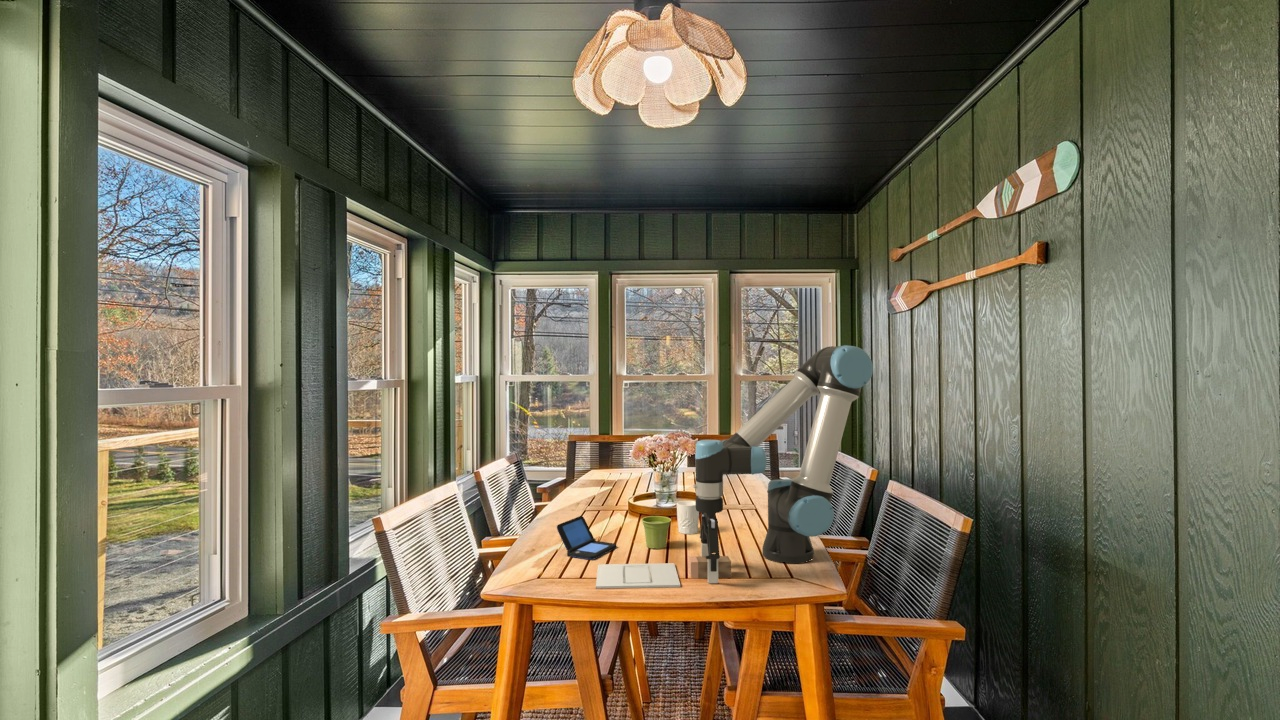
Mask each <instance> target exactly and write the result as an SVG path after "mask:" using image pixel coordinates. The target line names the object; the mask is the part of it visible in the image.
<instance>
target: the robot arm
mask: <svg viewBox="0 0 1280 720" xmlns="http://www.w3.org/2000/svg"><path fill="white" fill-rule="evenodd" d="M873 370H874V365H873V362H872V358H871V357H870V355H869V354H868V353H867V352H866V351H865V350H864V349H862V348H861V347H858V346H854V345H848V344H844V345H838V346H837V345H836V346H835V345H834V346H826V347H824V348H821V349H819V350H818V351H817V352H815V353H814V354H813V355H812V356H811V357H809V359H807V360H806V361H805V362H804V363H803V364H802V365H800V367H799V368H798V369H797V370H796V371H794V378H792V379H791V380H790V381H789V382H788V383H786V384H785V386H783V388H781V390H779V391H778V392H777V393H776V394H775V395H774V396H773V397H772V398H771V399H770V400H769V401H768V402H766V404H765V405H764V406H762V408H760V409H759V410H758V411H757V412H756V413H755V414H754V415H753V416H752V417H750V419H749V420H748V421H747V422H745V424H743V426H741V427H740V428H739V429H738V430H737V431H736V432H735V433H734V434H732V435H731V436H730V438H727V439H723V440H720V439H719V440H718V439H700V440H698V441H696V444H695V455H694V459H695V462H694V463H695V484H693V488H694V489H695V495H696V497H695V501H696V510H697V511H698V512H699V513H701V517H700V519H701V520H700V536H699V538H700V545H701V546H700V556H706V559H708V578H707V583H708V584H718V583H719V578H718V559H719V558H720V556H721V555H720V544H719V542H720V541H719V530H718V529H719V528H718V527H719V526H718V524H719V521H718V518H717V517H716V514H717V513H721V512H723V510H724V498H723V496H724V475H757V474H763V473H764V472H765V471H766V469H767V454H766V451H765V449H764V448H763V447H761V446H760V445H762V444H763V443H764V442H765V441H766V440H767V439H768V437H771V435H772V434H773V433H774V432H775V431H776V430H778V429H779V428H780V426H782V425H783V424H784V423H785V422H786V421H787V420H788V419H789V418H790V417H792V416H793V415H794V414H795V412H797V411H798V410H799V409H800V408H801V407H802V406H803V405H804V404H805V403H806V402H807V401H808V400H809V399H810V398H812V397H813V396H819V400H818V404H817V408H816V411H815V414H814V418H813V421H812V426H811V428H810V433H809V437H808V441H807V443H806V448H805V451H804V452H805V453H804V455H803V458H802V459H803V460H802V462H801V463H802V464H801V467H800V471H799V473H798V476H796V477H794V478H791V479H790V478H789V479H787V478H786V479H781V478H780V479H772V480H769V482H768V484H767V531H766V536H765V538H764V541H763V544H762V551H761V552H762V553H761V555H762V556H763V557H764V558H765V559H768V560H769V559H770V561H772V560H773V561H774V562H776V561H777V563H782V562H785V563H784V564H801V563H800V562H804V563H807V562H806V561H808V562H810V561H809V560H811V559H813V560H814V557H815V551H814V546H813V543H812V541H811V538H812V537H818V536H821V535H823V534H825V533H826V532H827V531H828V530H830V528H831V526H832V524H833V522H834V518H835V512H834V508H833V505H832V503H831V502H832V498H833V495H834V490H833V489H832V487H831V485H830V484H831V480H832V476H833V472H834V469H835V466H836V461H837V457H838V453H839V450H840V446H841V443H842V440H843V439H842V438H843V434H844V431H845V427H846V425H847V420H848V416H849V413H850V409H851V405H852V403H853V402H855V401H856V400H857V399H859V398H860V394H861V391H862V390H861V389H862V387H864V386H865V385H867V384H868V383H869V382H870V380H871V378H872V376H873V373H874V371H873ZM819 394H820V395H819ZM810 537H811V538H810ZM811 561H812V560H811Z"/></svg>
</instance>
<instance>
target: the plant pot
mask: <svg viewBox="0 0 1280 720" xmlns="http://www.w3.org/2000/svg"><path fill="white" fill-rule="evenodd" d="M641 522H642V524H643V529H644V535H645V542H646V543H645V544H646V547H647V548H649V549H656V550H660V549H664V548H666V546H667V540H668V531H669V527H670V523H671V522H672V518H670V517H667V516H663V515H662V516H660V515H649V516H644V517H642V518H641Z"/></svg>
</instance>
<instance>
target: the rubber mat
mask: <svg viewBox="0 0 1280 720" xmlns="http://www.w3.org/2000/svg"><path fill="white" fill-rule="evenodd" d="M675 564H676V563H672V562H668V563H666V562H665V563H663V562H662V563H612V564H611V563H607V564H606V563H603V564H601V563H600V564H597V571H596V579H595V580H596V581H595V589H651V588H652V589H653V588H656V589H657V588H659V589H660V588H662V589H663V588H664V589H665V588H681V583H680V579H679V575H678V572H677V569H676V565H675Z"/></svg>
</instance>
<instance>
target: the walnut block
mask: <svg viewBox="0 0 1280 720" xmlns="http://www.w3.org/2000/svg"><path fill="white" fill-rule="evenodd" d="M689 574H690V575H689ZM688 575H689V577H691V578H690V580H693V579H699V580H701V579H708V559H706V556H701V555H699V556H697V555H696V556H688ZM718 579H732V560H731V559H730V556H728V555H720V558H719V559H718Z"/></svg>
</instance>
